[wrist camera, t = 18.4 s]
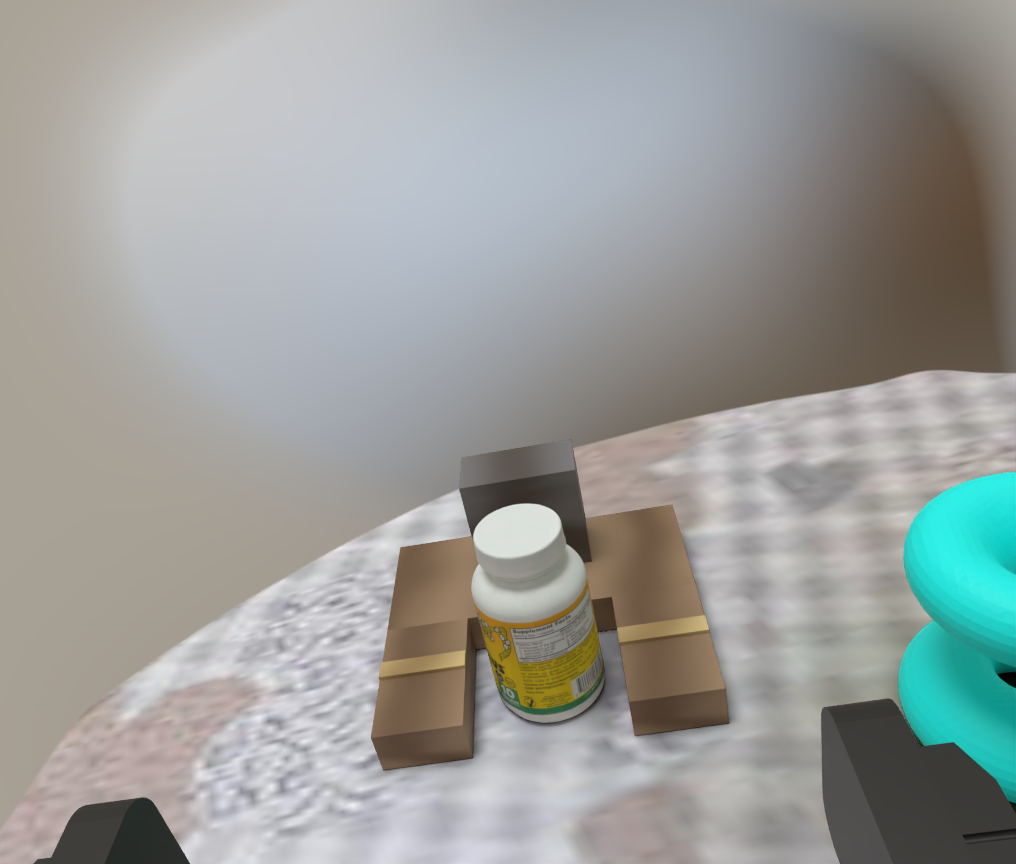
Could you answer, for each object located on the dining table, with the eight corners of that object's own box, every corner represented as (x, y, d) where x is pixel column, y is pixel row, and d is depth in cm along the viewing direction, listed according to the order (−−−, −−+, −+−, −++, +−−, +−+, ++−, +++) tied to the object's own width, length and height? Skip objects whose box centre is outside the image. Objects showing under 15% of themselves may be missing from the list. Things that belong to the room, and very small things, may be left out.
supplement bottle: (614, 714, 42) (585, 554, 37) (502, 736, 42) (458, 579, 37) (596, 635, 47) (568, 484, 42) (495, 655, 47) (456, 506, 42)
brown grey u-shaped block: (676, 534, 52) (661, 414, 48) (729, 722, 40) (716, 583, 36) (409, 576, 54) (373, 462, 50) (383, 769, 42) (333, 640, 38)
